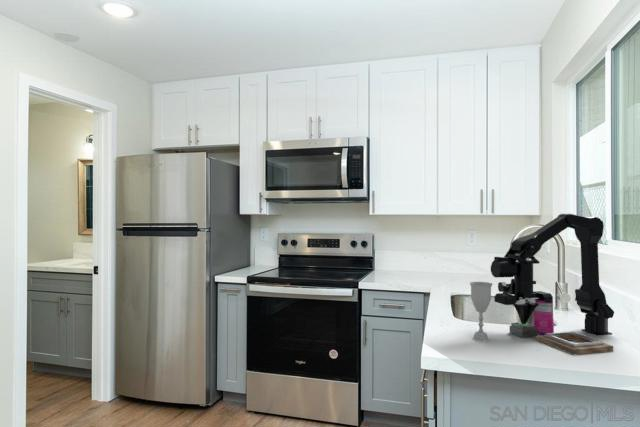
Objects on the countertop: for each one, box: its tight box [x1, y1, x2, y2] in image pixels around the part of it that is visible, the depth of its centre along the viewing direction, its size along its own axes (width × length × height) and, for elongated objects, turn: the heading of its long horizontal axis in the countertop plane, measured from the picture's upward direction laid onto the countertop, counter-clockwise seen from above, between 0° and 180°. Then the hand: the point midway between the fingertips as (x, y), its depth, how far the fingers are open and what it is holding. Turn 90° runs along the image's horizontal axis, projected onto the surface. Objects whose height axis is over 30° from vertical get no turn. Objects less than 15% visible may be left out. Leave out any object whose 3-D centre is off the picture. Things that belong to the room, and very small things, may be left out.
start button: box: [517, 321, 530, 326], centre depth 136 cm, size 3×3×1 cm
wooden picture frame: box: [536, 330, 614, 355], centre depth 125 cm, size 14×14×2 cm
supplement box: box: [533, 300, 555, 335], centre depth 139 cm, size 6×6×12 cm
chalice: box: [469, 281, 493, 342], centre depth 131 cm, size 7×7×18 cm
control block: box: [509, 321, 539, 339], centre depth 136 cm, size 6×6×4 cm
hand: (523, 323), depth 136 cm, fingers closed, pressing on start button
